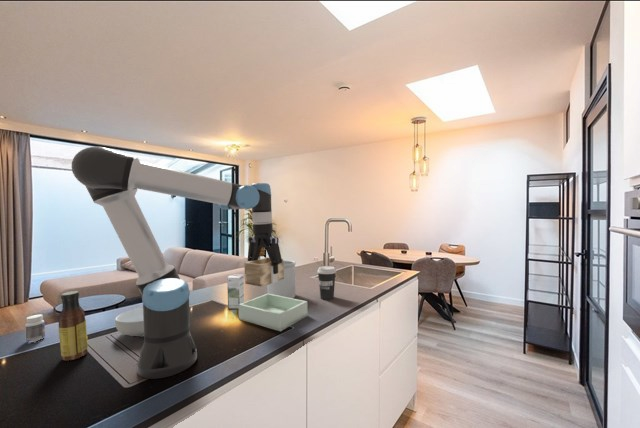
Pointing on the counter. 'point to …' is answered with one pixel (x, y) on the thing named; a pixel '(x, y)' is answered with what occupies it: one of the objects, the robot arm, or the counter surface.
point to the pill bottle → (35, 328)
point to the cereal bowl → (131, 322)
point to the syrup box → (235, 291)
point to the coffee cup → (326, 282)
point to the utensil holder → (285, 281)
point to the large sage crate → (273, 311)
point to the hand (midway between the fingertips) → (265, 280)
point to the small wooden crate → (261, 272)
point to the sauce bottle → (72, 327)
